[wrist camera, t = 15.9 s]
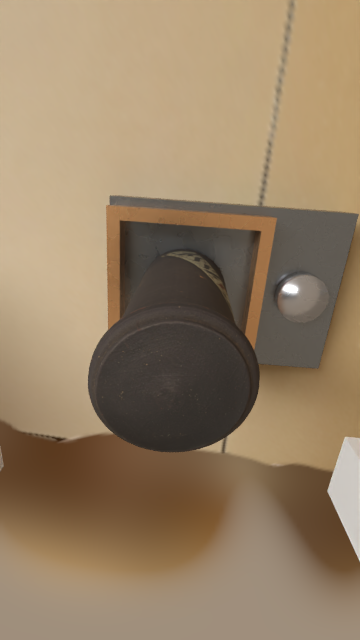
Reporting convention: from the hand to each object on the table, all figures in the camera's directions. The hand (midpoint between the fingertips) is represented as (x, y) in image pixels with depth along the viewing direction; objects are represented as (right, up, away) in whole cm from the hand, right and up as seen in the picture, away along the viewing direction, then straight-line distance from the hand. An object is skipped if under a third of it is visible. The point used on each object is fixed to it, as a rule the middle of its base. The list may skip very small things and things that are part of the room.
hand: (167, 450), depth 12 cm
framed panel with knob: (+5, +10, +25) cm, 28 cm away
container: (+1, +9, +22) cm, 24 cm away
